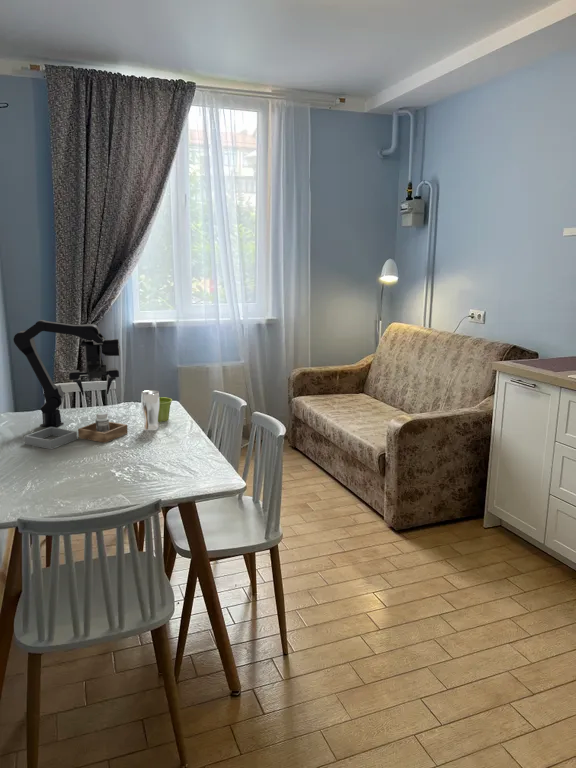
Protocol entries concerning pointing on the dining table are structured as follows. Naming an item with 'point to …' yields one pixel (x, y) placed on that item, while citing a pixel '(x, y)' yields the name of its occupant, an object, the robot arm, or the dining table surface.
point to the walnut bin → (92, 434)
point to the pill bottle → (102, 422)
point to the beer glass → (150, 409)
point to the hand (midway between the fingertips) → (95, 394)
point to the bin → (62, 434)
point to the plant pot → (164, 409)
